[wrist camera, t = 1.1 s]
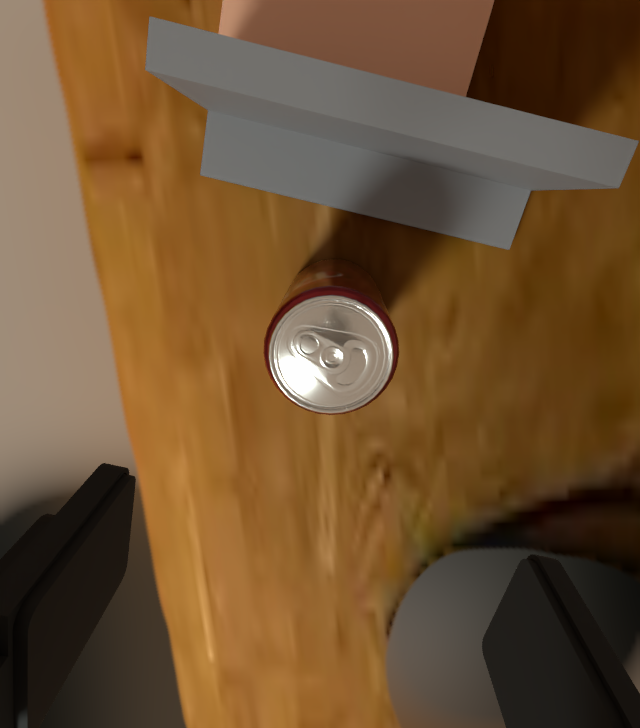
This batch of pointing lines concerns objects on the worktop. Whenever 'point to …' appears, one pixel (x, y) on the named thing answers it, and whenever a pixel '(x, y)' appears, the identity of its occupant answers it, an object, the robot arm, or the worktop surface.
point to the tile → (371, 35)
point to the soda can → (331, 340)
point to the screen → (375, 138)
